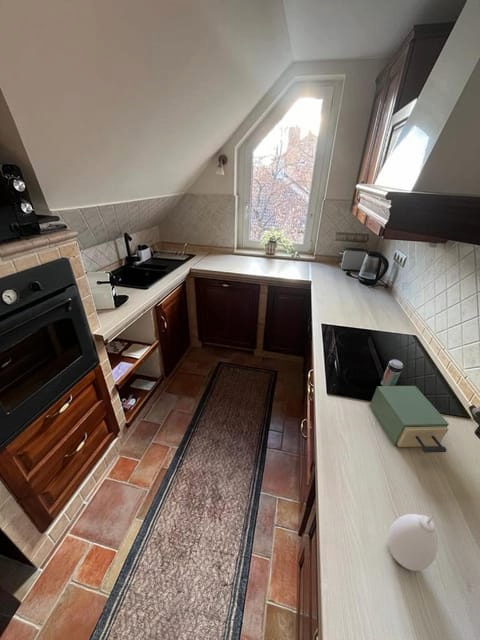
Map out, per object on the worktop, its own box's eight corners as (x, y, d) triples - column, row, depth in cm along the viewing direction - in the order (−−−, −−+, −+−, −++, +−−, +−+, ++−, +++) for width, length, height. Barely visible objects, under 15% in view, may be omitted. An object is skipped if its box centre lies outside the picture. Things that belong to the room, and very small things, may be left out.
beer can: (383, 379, 106) (393, 357, 100) (395, 386, 103) (406, 363, 97) (378, 384, 103) (387, 361, 97) (390, 391, 100) (401, 368, 94)
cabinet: (435, 444, 80) (449, 423, 76) (393, 445, 80) (404, 424, 75) (405, 405, 94) (415, 385, 89) (369, 405, 93) (377, 386, 89)
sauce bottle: (416, 590, 52) (455, 554, 43) (376, 555, 56) (404, 516, 47) (424, 554, 57) (461, 515, 48) (387, 525, 61) (414, 484, 52)
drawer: (449, 461, 75) (462, 445, 71) (408, 462, 74) (418, 446, 70) (408, 408, 91) (417, 392, 88) (375, 409, 91) (381, 393, 87)
